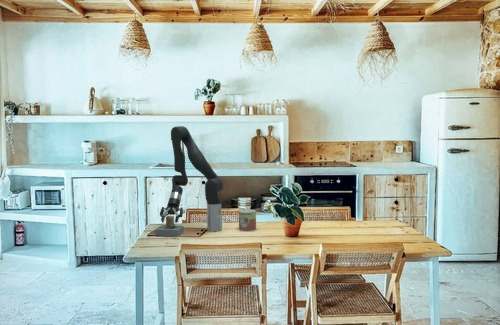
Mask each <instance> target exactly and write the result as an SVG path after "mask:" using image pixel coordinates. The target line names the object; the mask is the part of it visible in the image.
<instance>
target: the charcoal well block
mask: <svg viewBox="0 0 500 325" xmlns="http://www.w3.org/2000/svg"><path fill="white" fill-rule="evenodd" d="M183 231H184V232H185V225H175V224H174V229H166V224H163V225H161V226H158V227H157V228H155V236H156V237H174V236H178V235H179V234H181V233H182V232H183ZM184 232H183V233H184ZM183 233H182V234H183ZM182 234H181V235H182ZM158 235H159V236H158ZM162 235H164V236H162ZM165 235H166V236H165ZM167 235H169V236H167ZM179 236H180V235H179ZM179 236H178V237H179Z"/></svg>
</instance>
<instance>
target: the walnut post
mask: <svg viewBox="0 0 500 325" xmlns="http://www.w3.org/2000/svg"><path fill="white" fill-rule="evenodd" d="M165 225H166V229H174V225H175V215H168V216H166V217H165Z"/></svg>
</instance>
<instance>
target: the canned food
mask: <svg viewBox="0 0 500 325" xmlns="http://www.w3.org/2000/svg"><path fill="white" fill-rule="evenodd" d="M238 230H239V231H241V232H254V231H256V230H257V210H255V209H250V208H249V209H240V210H238Z"/></svg>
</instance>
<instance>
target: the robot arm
mask: <svg viewBox="0 0 500 325" xmlns="http://www.w3.org/2000/svg"><path fill="white" fill-rule="evenodd" d="M170 138H171V144H172V150H173V158H174V159H173V160H174V162H173V164H174V168H173V169H174V171H175V172H177V173H179V174H180V175H179V174H178V175H177V174H174V175H173V176H172V179H171V186H172V187H171V193H170V195H169V197H168V198H169V199H168V203H167V205H166V207H164V206H162V207H161V209H160V211H159V216H160V217H161V220H160V221H161V222H162V224H163V223H164V222H165V220H166V217H167V216H175V217H174V224H177V223H178V222H179V219H180V218H183V214H184V208H183V207H181V201H182V195H183V191H184V190H183V187H186V186H187V185H188V183H189V178H188V175H187V172H186V158H185V155H184V152H183V150H182V149H183V148H182V143H183V144H184V146H185V148H186V153H187V158H188V159H189V162H190V163H191V165H192V166H193V167H194V168H195V169H196V170H197V171H198V172H199V173H200V174H202V175H203V176H204V177H205V179H206V182H205V184H204V192H205V193H204V194H205V196H204V197H205V200H206V224H207V226H206V228H207V231H209V232H220V231H222V229H223V213H222V199H221V198H220V197H219V192H221V191H222V190H223V188H224V184H223V181H222V179H221V178H220V177H219V176H218V174H217V173H216V172H215V171H214V169H213V168H212V166H211V165H210V164H209V162H208V161H207V159H206V157H205V156H204V154H203V152H202V151H201V150H200V148H199V147H198V145H197V144H196V142H195V141H194V139H193V137H192V135H191V133H190V131H189V129H188V128H187V127H185V126H183V125H182V126H181V125H180V126H179V125H177V126H173V127H172V128H171V129H170ZM178 212H179V213H178Z"/></svg>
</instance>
